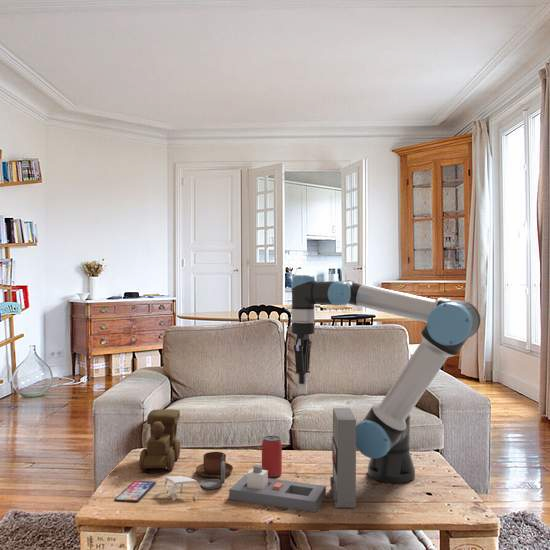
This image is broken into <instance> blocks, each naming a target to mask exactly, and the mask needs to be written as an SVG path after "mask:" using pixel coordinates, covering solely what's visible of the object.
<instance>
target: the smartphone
mask: <svg viewBox="0 0 550 550" xmlns="http://www.w3.org/2000/svg"><path fill="white" fill-rule="evenodd" d="M156 485H157V482H156V481H153V480H151V481H149V480H134V481H132V482H131V483H130V484H129V485H128V486H127V487H126V488H124V489H123V490H122V491H121V493H119V494H118V495H117V496H116V497H115V498H114V499H113V501H114V502H119V503H120V502H121V503H126V502H127V503H133V504H135V503H136V504H138V503H139V502H140V501H141V500H142V499H143V498H144V497H145V496H146V495H147V494H148V493H149V492H150V491H151V490H152V489H153V487H154V486H156Z"/></svg>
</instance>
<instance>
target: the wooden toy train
mask: <svg viewBox="0 0 550 550" xmlns="http://www.w3.org/2000/svg"><path fill="white" fill-rule="evenodd" d="M180 412H181V411H180V409H175V408H172V409H171V408H168V409H167V408H166V409H165V408H162V409H160V408H159V409H152V410H150V412H149V413H148V414H147V417H146V419H147V422H146V425H150V428H149V429H150V430H149V431H150V437H149V438H148V441H147V442H146V443H147V444H146V448H142V450H141V451H140V454H139V463H138V465H139V469H140V470H141V471H143V472H144V471H146V470H147V469H166V470H167V471H173V469H174V467H175V461H177V460H178V459H180V455H181V454H180V453H181V441H180V439H177V432H178V431H177V429H178V422H179V421H180V417H181V416H180Z"/></svg>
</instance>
